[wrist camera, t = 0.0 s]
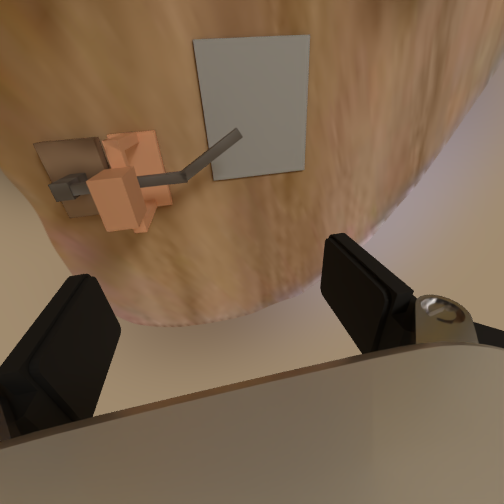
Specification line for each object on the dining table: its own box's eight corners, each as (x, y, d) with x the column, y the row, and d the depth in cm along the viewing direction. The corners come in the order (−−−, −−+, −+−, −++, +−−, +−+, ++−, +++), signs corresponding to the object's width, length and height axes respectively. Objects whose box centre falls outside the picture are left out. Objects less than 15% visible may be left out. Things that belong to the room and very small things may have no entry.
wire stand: (41, 141, 32) (2, 149, 25) (234, 124, 35) (242, 127, 29) (75, 213, 37) (50, 234, 31) (240, 192, 40) (248, 207, 34)
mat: (192, 40, 30) (192, 39, 29) (308, 35, 32) (310, 34, 31) (213, 179, 38) (213, 180, 38) (303, 169, 40) (304, 169, 40)
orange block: (109, 134, 33) (51, 150, 20) (155, 130, 34) (128, 143, 21) (134, 207, 38) (101, 257, 25) (172, 202, 39) (161, 248, 26)
